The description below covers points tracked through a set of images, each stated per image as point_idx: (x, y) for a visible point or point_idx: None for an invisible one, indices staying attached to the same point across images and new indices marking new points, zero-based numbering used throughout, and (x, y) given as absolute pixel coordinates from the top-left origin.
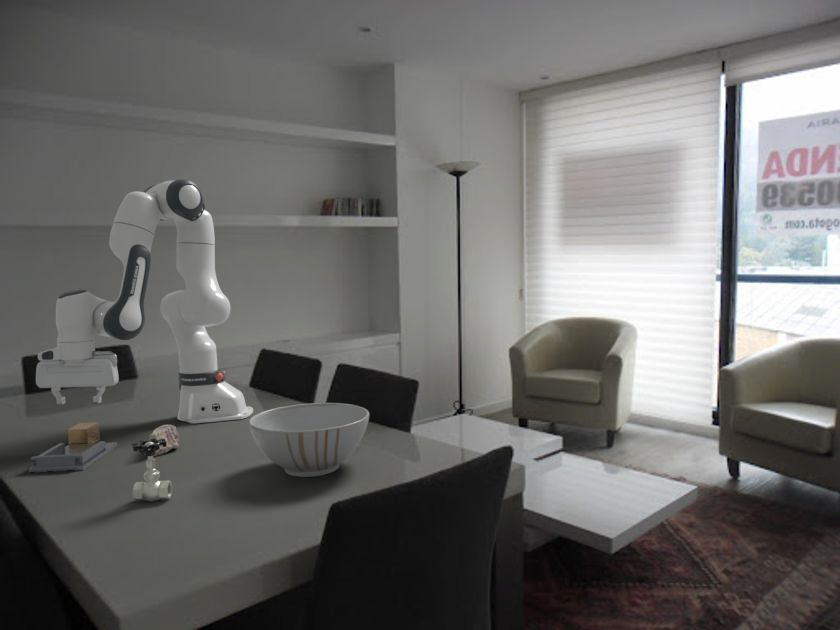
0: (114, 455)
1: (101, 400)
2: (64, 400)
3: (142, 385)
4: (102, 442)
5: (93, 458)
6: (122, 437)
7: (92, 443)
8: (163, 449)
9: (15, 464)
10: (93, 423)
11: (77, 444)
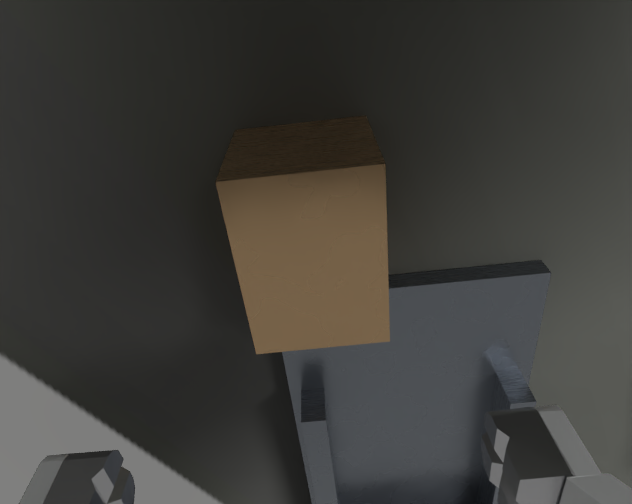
0: (564, 385)
1: (564, 413)
2: (103, 484)
3: None
4: None
5: None
6: (518, 61)
7: (406, 288)
8: None
9: (190, 459)
10: (359, 203)
11: None
